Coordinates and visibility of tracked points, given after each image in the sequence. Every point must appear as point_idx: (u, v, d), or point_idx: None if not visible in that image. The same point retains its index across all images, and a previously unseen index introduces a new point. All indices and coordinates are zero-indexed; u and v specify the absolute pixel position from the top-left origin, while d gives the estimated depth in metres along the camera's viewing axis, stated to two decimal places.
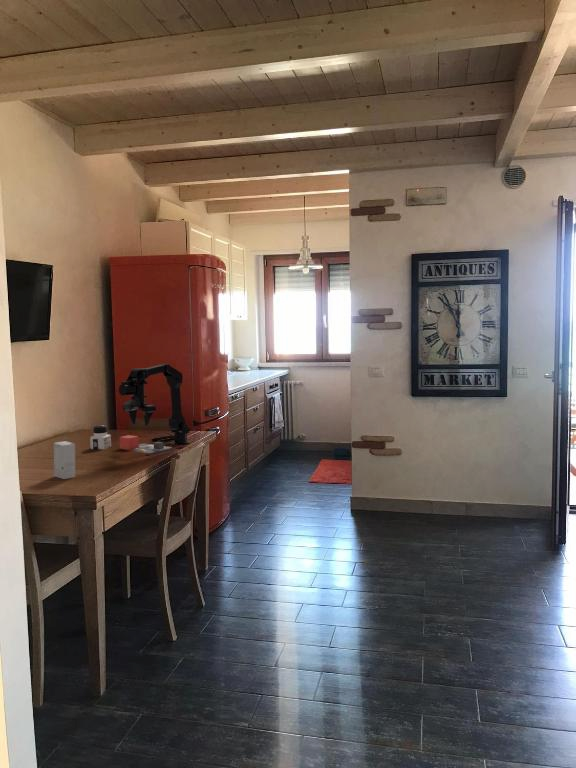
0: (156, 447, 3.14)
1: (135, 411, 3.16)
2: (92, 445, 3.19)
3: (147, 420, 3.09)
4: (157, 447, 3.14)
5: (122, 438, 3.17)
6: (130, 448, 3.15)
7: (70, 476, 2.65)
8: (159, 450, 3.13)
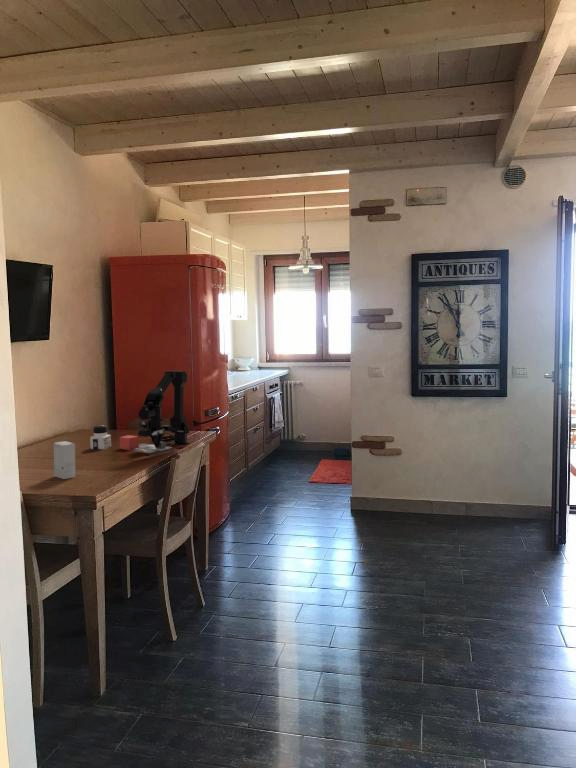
0: (159, 447, 3.16)
1: (159, 435, 3.14)
2: (92, 445, 3.19)
3: (154, 442, 3.13)
4: (159, 446, 3.15)
5: (122, 438, 3.17)
6: (130, 448, 3.15)
7: (70, 476, 2.65)
8: (159, 450, 3.13)
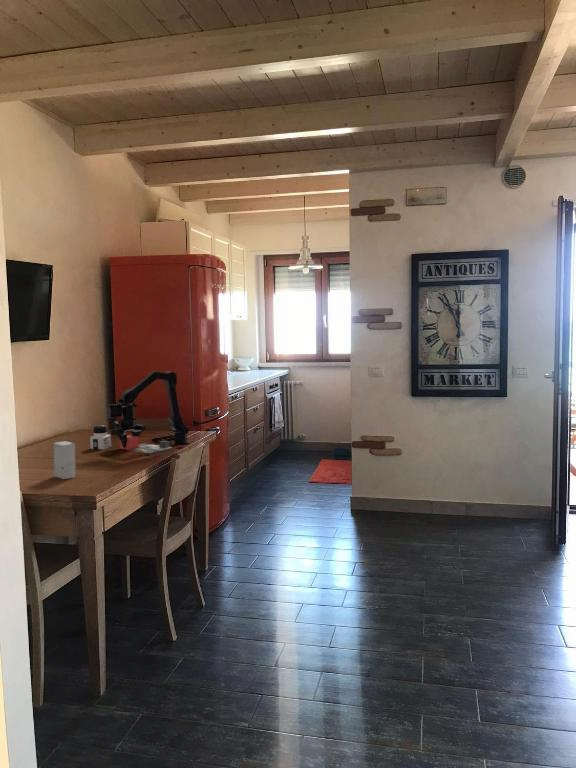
0: (162, 446, 3.18)
1: (136, 433, 3.21)
2: (92, 445, 3.19)
3: (122, 442, 3.16)
4: (163, 446, 3.17)
5: None
6: (130, 448, 3.15)
7: (70, 476, 2.65)
8: (159, 450, 3.13)
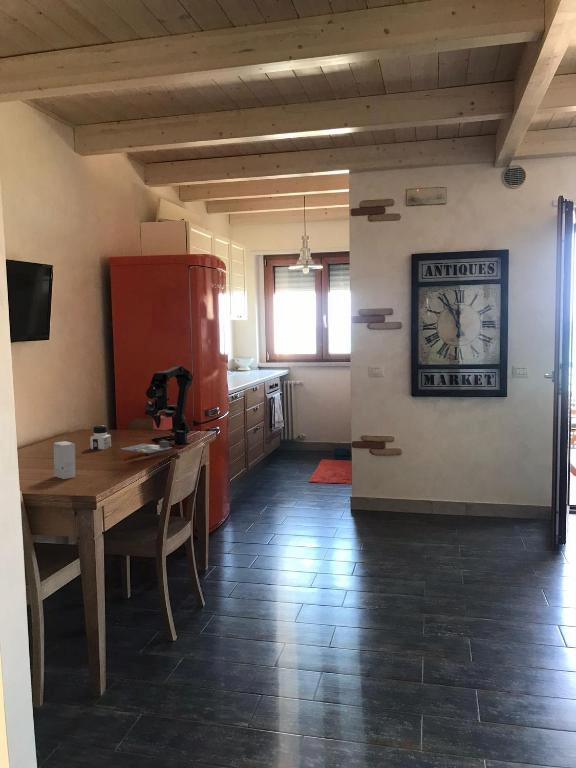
0: (162, 446, 3.18)
1: (170, 414, 3.19)
2: (92, 445, 3.19)
3: (156, 423, 3.14)
4: (163, 446, 3.17)
5: None
6: (164, 428, 3.14)
7: (70, 476, 2.65)
8: (159, 450, 3.13)
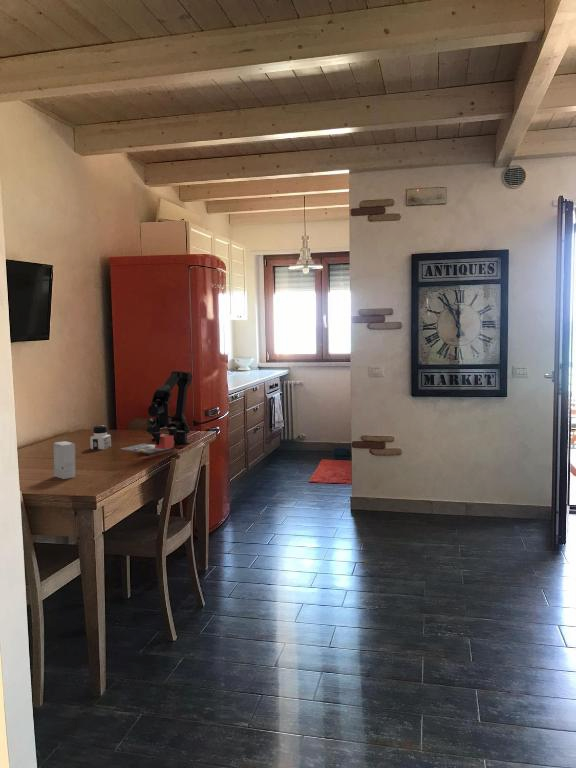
0: None
1: (173, 430, 3.21)
2: (92, 445, 3.19)
3: (156, 440, 3.14)
4: None
5: None
6: (165, 447, 3.15)
7: (70, 476, 2.65)
8: (159, 450, 3.13)
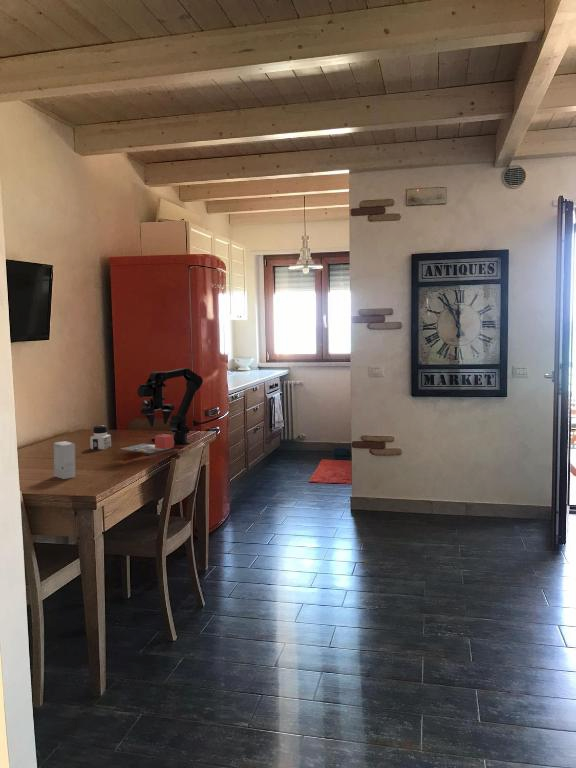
0: None
1: (167, 412, 3.28)
2: (92, 445, 3.19)
3: (150, 422, 3.20)
4: None
5: (157, 437, 3.17)
6: (165, 447, 3.15)
7: (70, 476, 2.65)
8: (159, 450, 3.13)
